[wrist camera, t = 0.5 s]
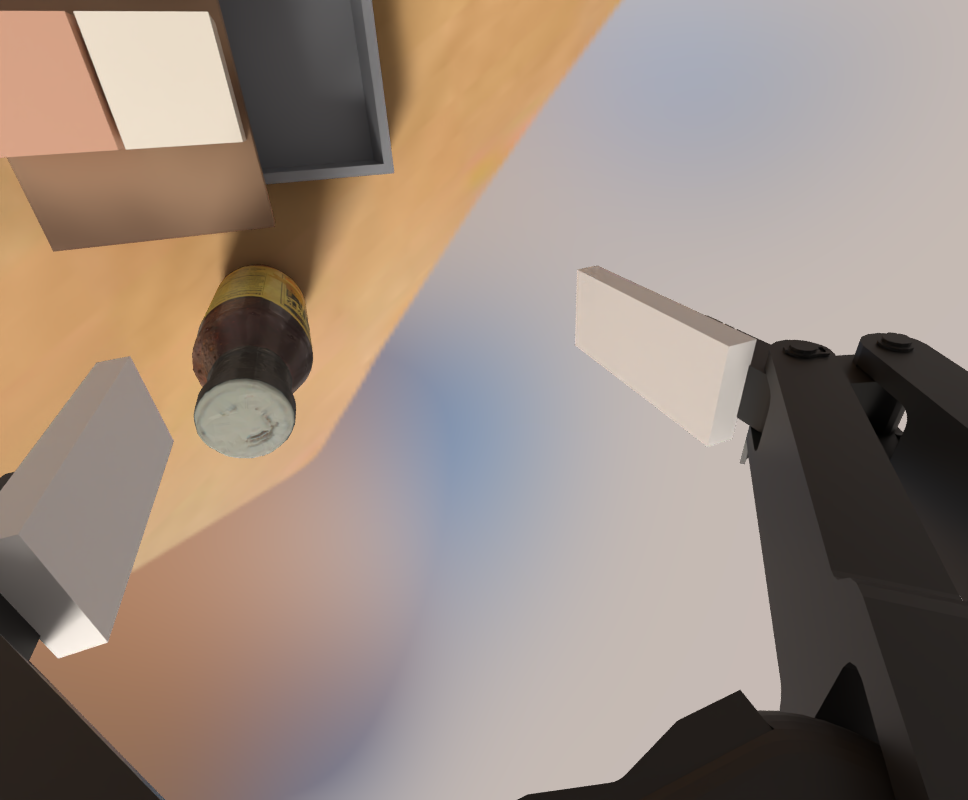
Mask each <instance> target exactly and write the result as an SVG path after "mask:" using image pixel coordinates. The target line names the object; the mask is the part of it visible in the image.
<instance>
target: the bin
mask: <svg viewBox="0 0 968 800" xmlns="http://www.w3.org/2000/svg"><path fill="white" fill-rule="evenodd" d="M218 1H219V5H220V8H221V12H222V16H223V20H224V24H225V28H226V32H227V36H228V40H229V43H230V47H231V51H232V55H233V59H234V63H235V67H236V71H237V75H238V78H239V82H240V86H241V90H242V94H243V98H244V102H245V106H246V110H247V113H248V117H249V121H250V125H251V129H252V133H253V137H254V141H255V145H256V148H257V152H258V156H259V160H260V164H261V168H262V172H263V176H264V180H265V183H266V184H276V183H287V182H299V181H310V180H322V179H333V178H344V177H356V176H367V175H378V174H390V173H394V167H393V159H392V151H391V144H390V136H389V128H388V121H387V113H386V105H385V98H384V90H383V82H382V75H381V67H380V59H379V52H378V44H377V36H376V29H375V21H374V13H373V6H372V0H218Z"/></svg>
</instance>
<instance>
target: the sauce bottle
mask: <svg viewBox="0 0 968 800" xmlns="http://www.w3.org/2000/svg"><path fill="white" fill-rule="evenodd" d="M192 358H193V371H194V372H195V375H196V377H197V378H198V380H199V382H200V384H201V386H202V387H203V388H202V389H201V391H200V392H199V395H198V399H197V402H196V406H195V411H194V422H195V426H196V429H197V433H198V435H199V436H200V438H201V439H202V440H203V441H204V442H205V443H206V444H207V445H208V446H209V447H210V448H212V449H215V450H216V451H218V452H219V453H222V454H224V455H226V456H229V457H235V458H255V457H259V456H264V455H266V454H269V453H271V452H273V451H274V450H275V449H276V448H278V447H279V446H281V445H282V444H283V443H284V442H285V441H286V440H287V439H288V438H289V436H290V434H291V432H292V430H293V427H294V425H295V418H296V416H295V415H296V403H295V399H294V396H293V393H294V392H295V391H296V390H297V389H298V388H299V387H300V386H301V385H302V384H303V383H304V381H305V380H306V379H307V377H308V375H309V373H310V371H311V368H312V363H313V352H312V344H311V338H310V330H309V324H308V317H307V311H306V304H305V300H304V297H303V294H302V292H301V290H300V289H299V287H298V286H297V285H296V283H295V282H294V281H293V279H292V278H290V277H288V276H287V275H285V274H284V273H282V272H281V271H279V270H276V269H275V268H272V267H269V266H266V265H252V266H247V267H242V268H240V269H237V270H235V271H234V272H232V273H230V274H229V275H227V276H226V277H225V279H224V280H223V281H222V282H221V284H220V285H219V287H218V289H217V291H216V293H215V295H214V298H213V300H212V302H211V304H210V306H209V308H208V310H207V312H206V314H205V316H204V318H203V320H202V322H201V324H200V327H199V330H198V335H197V339H196V341H195V344H194V347H193V353H192Z"/></svg>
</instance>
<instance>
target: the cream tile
mask: <svg viewBox="0 0 968 800" xmlns="http://www.w3.org/2000/svg"><path fill="white" fill-rule="evenodd" d="M73 12H74V15H75V17H76V20H77V23H78V25H79V28H80V30H81V33H82V36H83V38H84V41H85V44H86V46H87V49H88V51H89V54H90V57H91V59H92V62H93V65H94V67H95V70H96V73H97V75H98V78H99V80H100V83H101V86H102V88H103V91H104V94H105V96H106V99H107V101H108V104H109V107H110V109H111V112H112V115H113V117H114V120H115V122H116V125H117V128H118V130H119V133H120V136H121V138H122V141H123V143H124V146H125V149H126V150H127V149H143V148H158V147H174V146H189V145H205V144H220V143H236V142H244V141H246V137H245V133H244V129H243V125H242V122H241V118H240V114H239V110H238V106H237V103H236V99H235V95H234V91H233V88H232V84H231V80H230V76H229V72H228V69H227V65H226V61H225V57H224V53H223V50H222V46H221V42H220V38H219V35H218V31H217V27H216V23H215V22H214V20H213V19H212V17H211V16H210V14H209V12H179V11H73Z"/></svg>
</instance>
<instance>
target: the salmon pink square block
mask: <svg viewBox="0 0 968 800" xmlns="http://www.w3.org/2000/svg"><path fill="white" fill-rule="evenodd" d="M122 149H125V146H124V143H123V141H122V138H121V136H120V133H119V130H118V128H117V125H116V122H115V120H114V117H113V115H112V112H111V109H110V107H109V104H108V101H107V99H106V96H105V94H104V91H103V88H102V86H101V83H100V80H99V78H98V75H97V73H96V70H95V67H94V65H93V62H92V59H91V57H90V54H89V51H88V49H87V46H86V44H85V41H84V38H83V36H82V33H81V30H80V28H79V25H78V23H77V20H76V17H75V16H73V15H71V14H69V13H67V12H65V11H0V158H3V157H19V156H34V155H50V154H65V153H81V152H96V151H112V150H122Z"/></svg>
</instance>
